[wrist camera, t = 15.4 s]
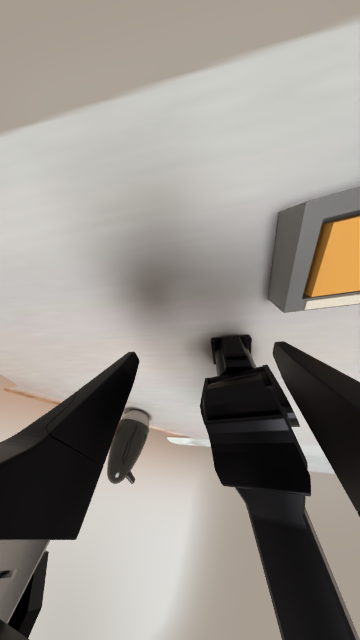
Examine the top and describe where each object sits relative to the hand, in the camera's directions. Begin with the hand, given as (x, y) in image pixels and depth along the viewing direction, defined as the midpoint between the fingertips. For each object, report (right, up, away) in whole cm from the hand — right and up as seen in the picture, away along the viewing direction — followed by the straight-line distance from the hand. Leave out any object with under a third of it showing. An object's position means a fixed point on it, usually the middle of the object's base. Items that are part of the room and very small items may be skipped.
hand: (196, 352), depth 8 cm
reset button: (+15, +9, +5) cm, 18 cm away
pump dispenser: (-15, -31, +36) cm, 50 cm away
